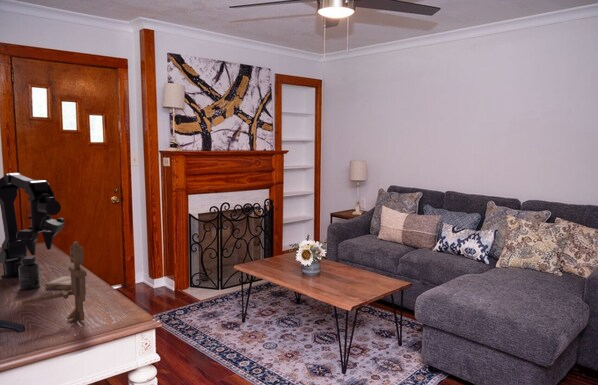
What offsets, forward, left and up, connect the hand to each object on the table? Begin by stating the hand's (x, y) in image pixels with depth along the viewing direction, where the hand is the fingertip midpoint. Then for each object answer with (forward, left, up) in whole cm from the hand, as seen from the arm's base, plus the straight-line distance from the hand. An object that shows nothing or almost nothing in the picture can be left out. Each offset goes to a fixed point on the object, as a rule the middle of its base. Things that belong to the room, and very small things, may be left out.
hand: (41, 252), depth 171 cm
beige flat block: (+9, 0, -14) cm, 17 cm away
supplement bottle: (-3, -4, -13) cm, 14 cm away
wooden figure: (+31, -35, -13) cm, 49 cm away
